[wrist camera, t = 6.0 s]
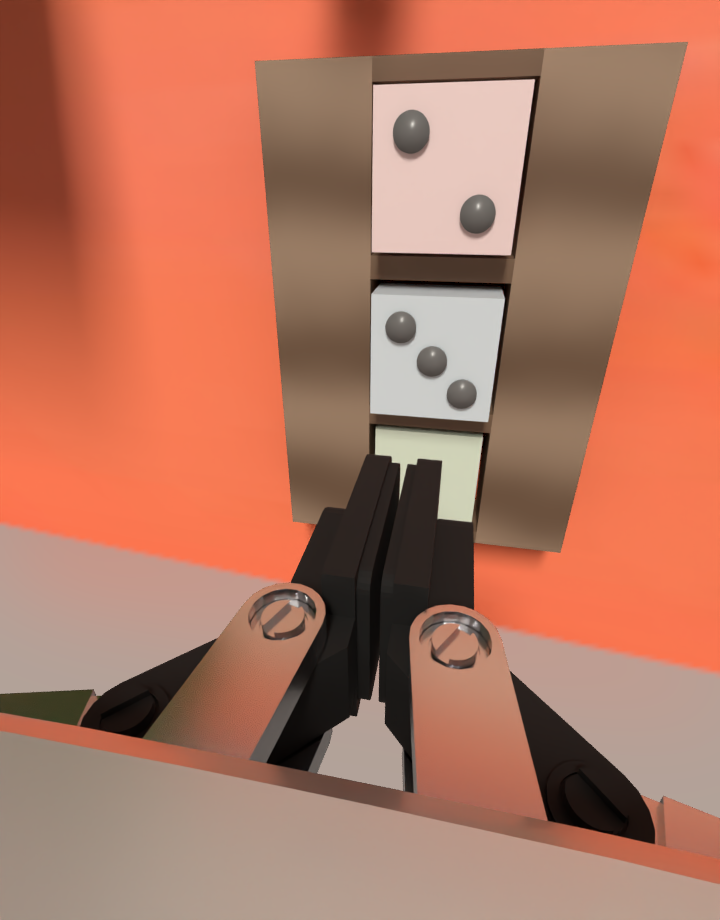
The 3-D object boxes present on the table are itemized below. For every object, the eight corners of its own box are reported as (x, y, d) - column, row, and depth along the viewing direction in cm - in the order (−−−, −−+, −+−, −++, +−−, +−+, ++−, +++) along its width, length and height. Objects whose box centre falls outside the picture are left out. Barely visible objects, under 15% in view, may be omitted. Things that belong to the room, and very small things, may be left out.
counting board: (282, 76, 20) (255, 61, 18) (656, 61, 18) (688, 41, 15) (308, 492, 30) (293, 521, 27) (551, 518, 28) (560, 552, 25)
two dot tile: (384, 96, 18) (372, 83, 16) (526, 91, 17) (535, 78, 15) (381, 244, 21) (370, 252, 18) (506, 247, 20) (511, 256, 17)
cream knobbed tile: (383, 408, 26) (374, 430, 24) (481, 415, 25) (483, 439, 23) (381, 489, 28) (373, 517, 26) (471, 498, 27) (471, 527, 25)
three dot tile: (381, 282, 21) (370, 295, 19) (501, 286, 20) (505, 299, 18) (379, 392, 24) (369, 415, 21) (486, 399, 23) (488, 424, 21)
